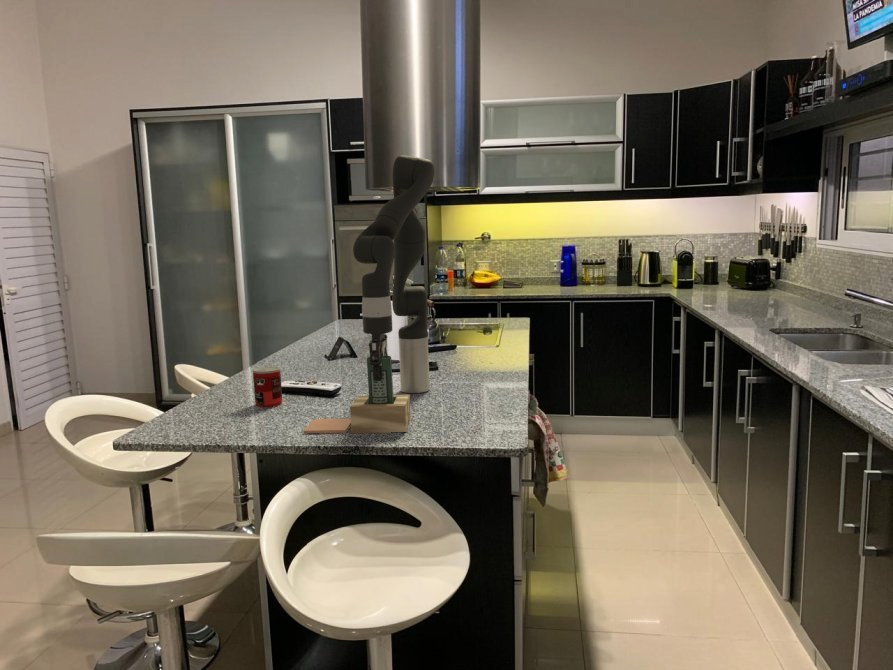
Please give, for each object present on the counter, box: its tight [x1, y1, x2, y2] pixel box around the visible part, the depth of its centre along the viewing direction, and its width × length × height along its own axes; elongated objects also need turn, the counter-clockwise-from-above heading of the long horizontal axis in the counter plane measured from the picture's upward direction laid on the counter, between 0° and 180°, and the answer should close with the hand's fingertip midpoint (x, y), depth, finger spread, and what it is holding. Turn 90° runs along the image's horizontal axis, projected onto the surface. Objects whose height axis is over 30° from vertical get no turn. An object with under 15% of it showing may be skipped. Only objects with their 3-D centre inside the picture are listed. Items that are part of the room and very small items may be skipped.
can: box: [366, 355, 394, 404], centre depth 184 cm, size 6×6×15 cm
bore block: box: [349, 394, 412, 434], centre depth 185 cm, size 12×14×7 cm
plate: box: [303, 418, 351, 434], centre depth 187 cm, size 11×11×1 cm
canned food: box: [252, 366, 283, 408], centre depth 213 cm, size 8×8×11 cm
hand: (380, 377), depth 184 cm, fingers closed on can, 6 cm apart
